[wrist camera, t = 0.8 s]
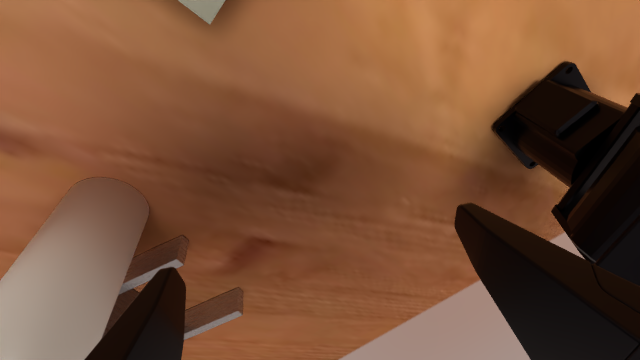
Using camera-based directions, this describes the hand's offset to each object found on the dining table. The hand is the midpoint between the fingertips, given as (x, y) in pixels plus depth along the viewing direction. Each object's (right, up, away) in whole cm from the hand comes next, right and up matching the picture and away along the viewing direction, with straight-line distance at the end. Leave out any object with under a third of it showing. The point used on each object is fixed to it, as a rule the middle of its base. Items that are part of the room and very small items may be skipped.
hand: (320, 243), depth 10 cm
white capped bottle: (-15, 0, +13) cm, 20 cm away
